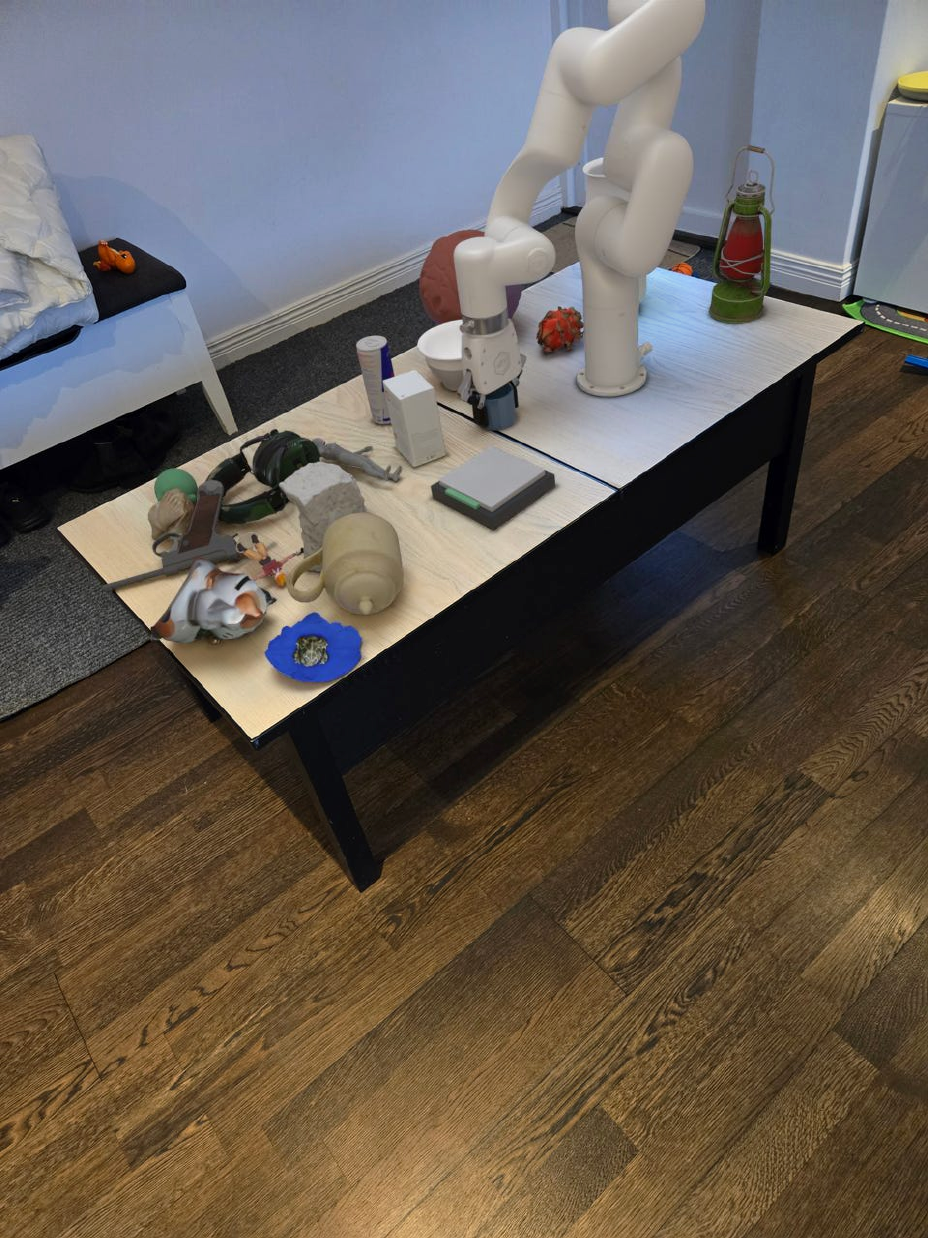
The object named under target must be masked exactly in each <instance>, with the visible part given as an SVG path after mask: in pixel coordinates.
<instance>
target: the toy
mask: <svg viewBox="0 0 928 1238" xmlns="http://www.w3.org/2000/svg"><path fill="white" fill-rule="evenodd" d="M362 641H363V637H362V636H360V632H359V631H358V629H356V627H354V626H352V625H346V626H345V625H343V624H342V623H341V622H338V621H334V622H329V621H328V620H327V619H325V618H323V616H321V615H320V613H319V612H316V611H313V612H311V613H308V614H307V615H305V616H304V617H303V618H302V620H298V621H297V622H296V623H294V624H293V625H292V626H289V625H284V626H282V628H281V631H280V634H277V635H276V636H275V637H274V638H272V639H271V640H269V642H268V644H267V649H265V650H264V651H263V652H264V656H265V658H266V659H267V661H268V662H269V663H270V665H271V666H272V667H273V668H274V669H275V670H276V671H278V672H279V673H281V674H282V675H283V676H284V675H285V676H287V677H289V678H291V679H292V680H295V681H299V682H310V683H323V682H324V683H325V682H329V681H332V680H333V681H334V680H335V679H338V678H340V677H343V676H344V675H346V674H347V673H349V672H350V671H351V670H353V669H354V668H355V666H356V665H357V664H358V663H359V661H360V659H361V657H362V652H361V649H360V648H361V647H360V646H361V644H362Z"/></svg>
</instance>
